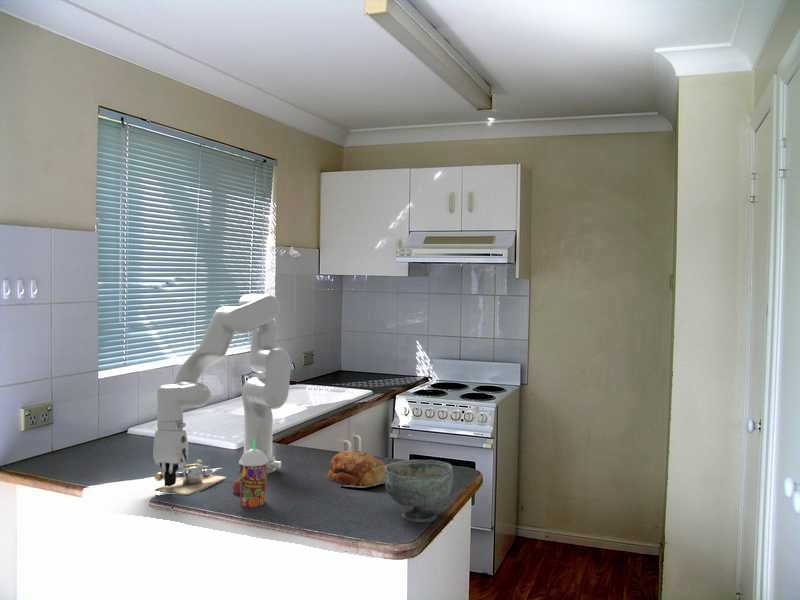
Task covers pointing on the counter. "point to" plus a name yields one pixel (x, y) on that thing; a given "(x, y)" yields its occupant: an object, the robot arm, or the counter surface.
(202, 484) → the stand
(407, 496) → the bowl
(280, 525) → the counter surface
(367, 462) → the bread
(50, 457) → the counter surface
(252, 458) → the smoothie
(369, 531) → the counter surface
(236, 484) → the fruit
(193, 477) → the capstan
